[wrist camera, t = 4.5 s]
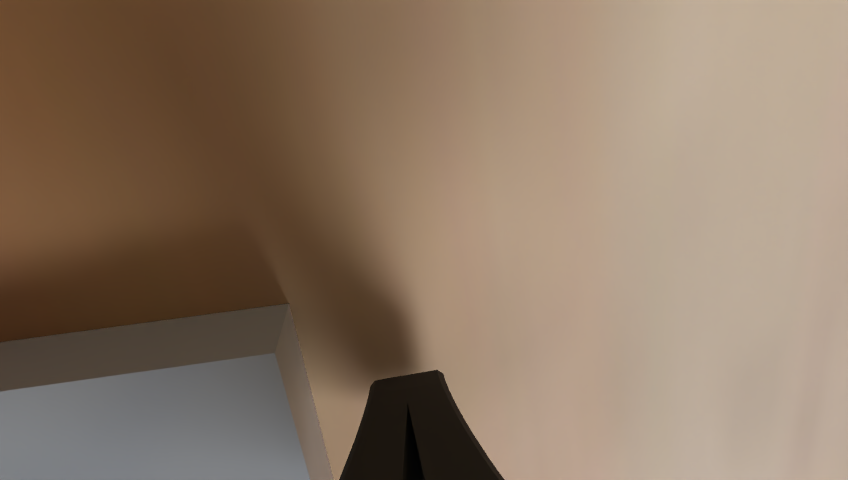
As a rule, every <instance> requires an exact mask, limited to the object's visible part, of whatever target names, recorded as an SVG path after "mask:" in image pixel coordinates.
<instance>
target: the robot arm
mask: <svg viewBox="0 0 848 480" xmlns="http://www.w3.org/2000/svg"><path fill="white" fill-rule="evenodd" d="M339 480H504V479H503V477H502V476H501V475H500V473H499V472H498V470H497V469H496V468H495V466H494V465H493V463H492V462H491V460H490V459H489V458H488V456H487V455H486V453H485V451H484V450H483V448H482V447H481V445H480V444H479V442H478V441H477V439H476V438H475V436H474V435H473V433H472V431H471V430H470V428H469V427H468V425H467V423H466V422H465V420H464V418H463V416H462V414H461V413H460V411H459V409H458V407H457V405H456V403H455V401H454V399H453V397H452V395H451V393H450V391H449V389H448V386H447V384H446V381H445V378H444V375H443V373H441V372H440V371H438V370H434V371H428V372H422V373H416V374H410V375H405V376H399V377H393V378H387V379H382V380H376V381H375V382H374V383H373V384H372V385H371V387H370V392H369V396H368V400H367V404H366V407H365V411H364V414H363V417H362V420H361V423H360V426H359V429H358V432H357V435H356V438H355V441H354V443H353V446H352V449H351V451H350V454H349V456H348V459H347V461H346V464H345V467H344V469H343V472H342V474H341V477H340V479H339Z"/></svg>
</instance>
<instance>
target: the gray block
mask: <svg viewBox="0 0 848 480" xmlns="http://www.w3.org/2000/svg"><path fill="white" fill-rule="evenodd" d="M0 480H334V479H333V475H332V471H331V467H330V463H329V459H328V455H327V451H326V447H325V443H324V440H323V436H322V432H321V428H320V424H319V420H318V416H317V412H316V408H315V404H314V400H313V396H312V392H311V388H310V384H309V380H308V376H307V372H306V368H305V364H304V360H303V357H302V353H301V349H300V345H299V341H298V337H297V333H296V329H295V325H294V321H293V317H292V313H291V309H290V305H289V303H288V304H281V305H273V306H266V307H259V308H251V309H244V310H236V311H229V312H221V313H214V314H206V315H199V316H192V317H184V318H177V319H169V320H162V321H154V322H147V323H139V324H132V325H125V326H117V327H110V328H102V329H95V330H87V331H80V332H72V333H65V334H58V335H50V336H43V337H35V338H28V339H20V340H13V341H5V342H0Z"/></svg>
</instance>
